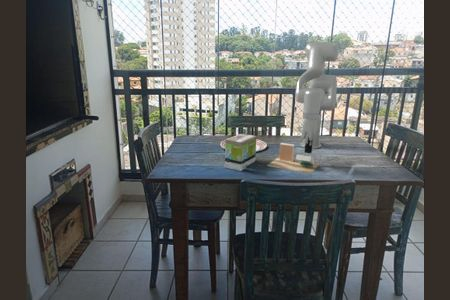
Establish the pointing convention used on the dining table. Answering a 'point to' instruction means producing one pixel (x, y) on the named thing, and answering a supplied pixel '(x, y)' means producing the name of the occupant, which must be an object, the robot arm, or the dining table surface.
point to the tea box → (240, 151)
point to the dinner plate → (259, 145)
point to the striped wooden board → (293, 165)
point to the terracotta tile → (286, 152)
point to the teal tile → (305, 159)
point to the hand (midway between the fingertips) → (308, 152)
